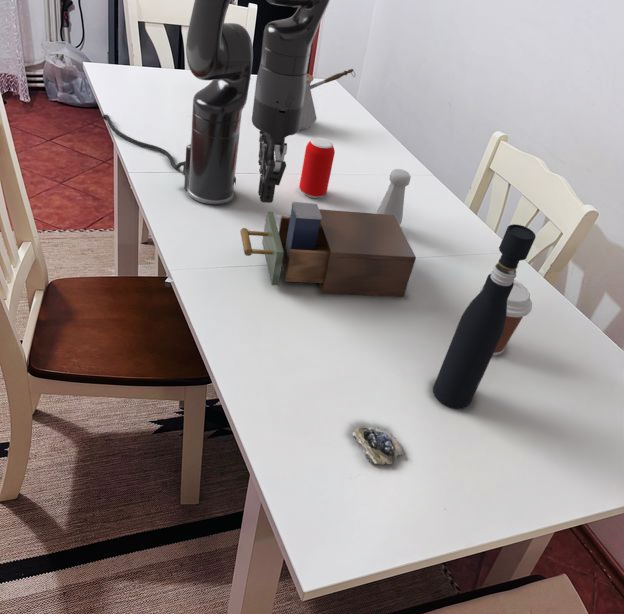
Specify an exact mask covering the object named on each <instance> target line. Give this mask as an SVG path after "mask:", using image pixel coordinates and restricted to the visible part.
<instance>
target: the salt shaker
mask: <svg viewBox="0 0 624 614" xmlns="http://www.w3.org/2000/svg"><path fill="white" fill-rule="evenodd" d="M411 177H412V176H411V174H410V173H409V171H407V170H405V169H402V168H394V169H392V170H391V172H390V174H389V177H388V179H389V182H390V184H389V185H388V188H387V190H386V191H385V194H384V196H383V198H382V201H381V203H380V205H379V207H378V209H377V211H376V213H375V214H387V215H394V216H395V218H396V220H397V222H398V223H399V225H400V226H401V225H402V222H403V216H404V204H405V203H404V202H405V192H406V187H409V185H410V183H411Z"/></svg>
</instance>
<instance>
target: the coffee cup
mask: <svg viewBox="0 0 624 614" xmlns="http://www.w3.org/2000/svg"><path fill="white" fill-rule="evenodd" d="M513 283H514V286H513V288H512V290H511V293H510V295H509V297H508V299H507V315H506V321H505V326H504V330H503V333H502V336H501V338H500V340H499V342H498V344H497V347H496V349H495V351H494V353H493V355H492V356H498V355H501V354H502V353H503V352H504V351H505V348H506V346H507V345H508V343H509V341H510V339H511V338H512V336H513V335H514V333H515V331H516V329H517V327H518V326H519V325H520V323H521V320H523V318H524V317H527V316H528V315H529V314H530V313H531V311H532V309H533V302H532V299H531V293H530V292H529V290H528V288H527V287H526V286H525V285H524V284H523V283H521V282H519V281H517V280H516V279H514V282H513ZM483 287H484V284H483V285H482V286H481V287H480V289H479V293H480V292H481V291H482V289H483Z"/></svg>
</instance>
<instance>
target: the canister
mask: <svg viewBox="0 0 624 614" xmlns="http://www.w3.org/2000/svg"><path fill="white" fill-rule="evenodd" d="M319 209H320V208H319V206H318V204H317V203H310V202H299V201H298V202H297V201H292V203H291V210H290V221H289V227H288V233H287V239H286V245H285V251H284V253H285V257H286V261H287V265H288V260H289V255H290V249H296V250H314V251H315V246H316V241H317V236H318V232H319V227H320V222H321V219H322V216H321V213H320V210H319Z"/></svg>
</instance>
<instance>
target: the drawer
mask: <svg viewBox="0 0 624 614" xmlns="http://www.w3.org/2000/svg"><path fill="white" fill-rule="evenodd" d="M264 221H265V222H264V228H263V231H257V230H249V229H248V228H246V227H243V228H241V229H240V231H239V232H240V237H241V243H242V249H243V254H244V255H245V256H247V257H250V256H251V255H252V254H253V255H256V254H257V255H264V257H265V262H266V267H267V270H268V275H269V279H270V285H271V286H279V283H280V278H281V272H282V271H283V275H284V279H285V282H289V283H310V284H311V283H314V284H319V283H323V280H324V275H325V271H326V266H327V262H328V257H329V251H328V248H327V246H326V243H325V240H324V237H323V234H322V231H321V228H320V227H319V232H318V236H317V241H316V246H315V251H314V250H296V249H290V255H289V260H288V265H287V261H286V257H285V253H284V251H285V245H286V239H287V233H288V227H289V221H290V216H289V215H280V221H279V228H278V225H277V221H276V217H275V214H274V211H269V210H267V211H266V214H265V220H264ZM250 236H256V237H262V240H261V241H262V242H261V244H262V248H263V249H258V248H252V244H251V243H252V242H251V239H250V238H251V237H250Z"/></svg>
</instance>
